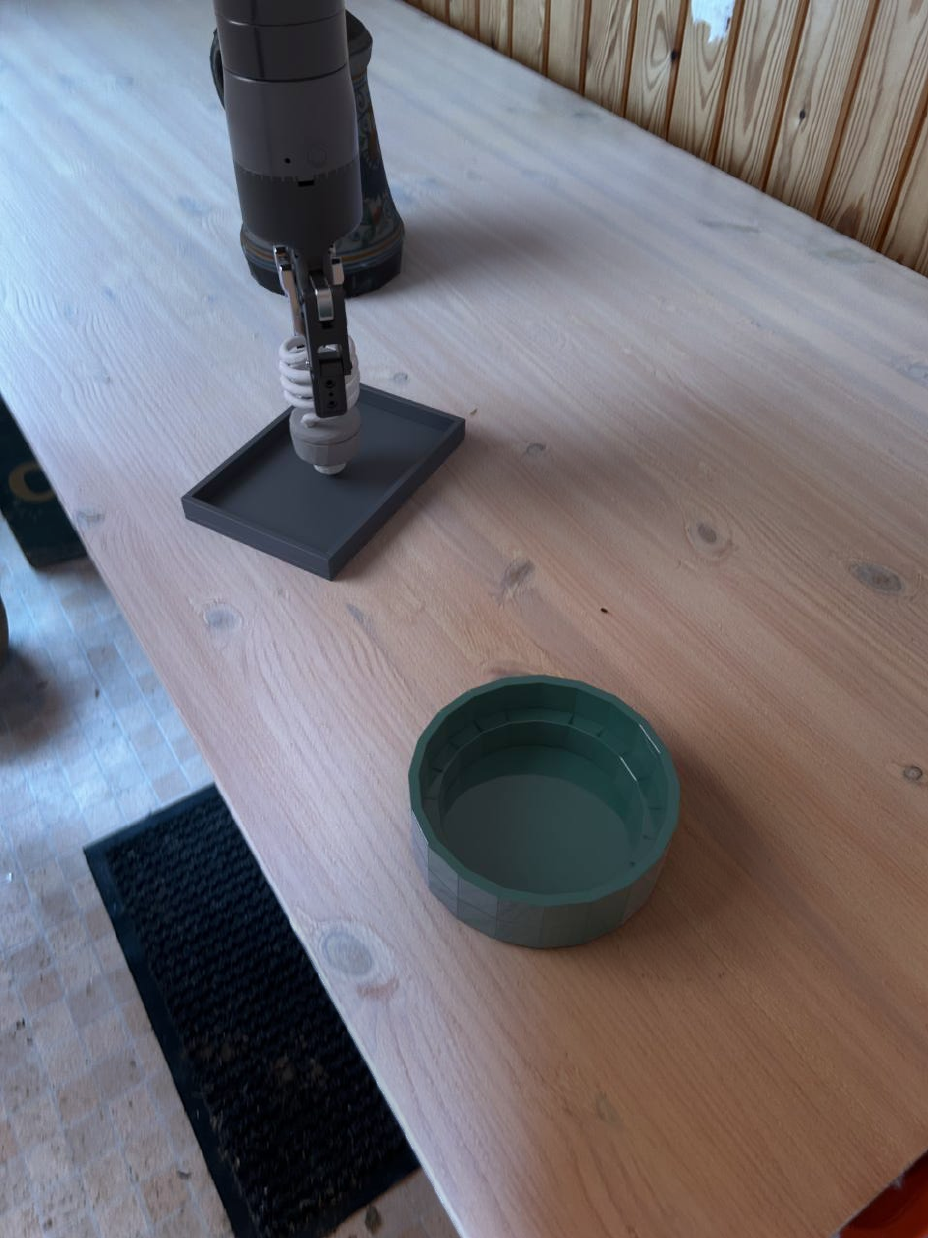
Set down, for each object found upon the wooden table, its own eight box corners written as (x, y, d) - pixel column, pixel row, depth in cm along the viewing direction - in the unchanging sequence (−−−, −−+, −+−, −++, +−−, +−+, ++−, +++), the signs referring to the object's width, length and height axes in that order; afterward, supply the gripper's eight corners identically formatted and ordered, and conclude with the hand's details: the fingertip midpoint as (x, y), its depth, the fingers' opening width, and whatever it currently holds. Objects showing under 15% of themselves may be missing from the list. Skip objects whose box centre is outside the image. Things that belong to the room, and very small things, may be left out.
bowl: (601, 1000, 48) (613, 958, 44) (362, 870, 52) (355, 822, 49) (700, 789, 56) (717, 739, 53) (487, 693, 61) (489, 641, 57)
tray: (330, 581, 68) (328, 560, 66) (185, 518, 72) (179, 497, 70) (465, 439, 79) (465, 418, 78) (332, 392, 83) (330, 372, 82)
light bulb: (338, 504, 72) (323, 365, 64) (279, 479, 74) (257, 340, 66) (381, 465, 76) (372, 327, 67) (324, 442, 78) (308, 305, 69)
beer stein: (382, 311, 93) (366, 15, 74) (192, 289, 95) (131, -3, 77) (422, 234, 104) (416, -40, 85) (250, 216, 106) (209, -54, 88)
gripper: (219, 106, 61) (256, 336, 73) (245, 202, 52) (283, 447, 64) (336, 97, 63) (353, 323, 74) (382, 187, 53) (394, 430, 65)
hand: (321, 380), depth 69 cm, fingers open, 8 cm apart
